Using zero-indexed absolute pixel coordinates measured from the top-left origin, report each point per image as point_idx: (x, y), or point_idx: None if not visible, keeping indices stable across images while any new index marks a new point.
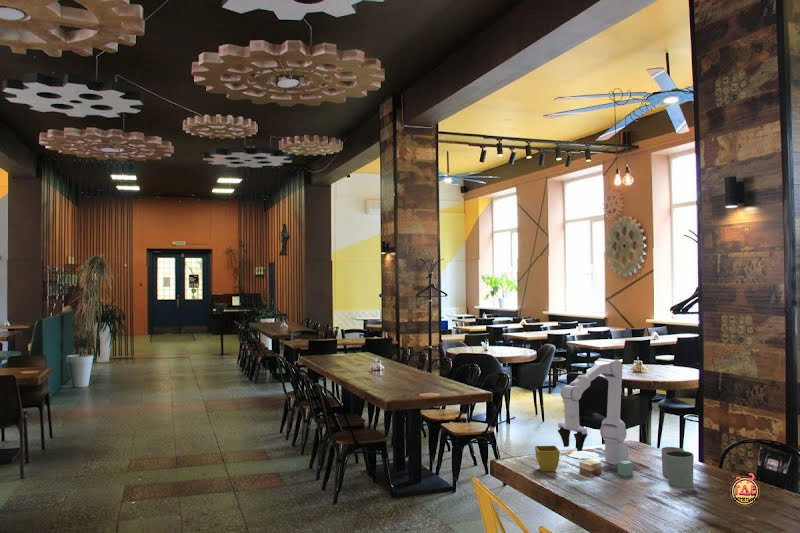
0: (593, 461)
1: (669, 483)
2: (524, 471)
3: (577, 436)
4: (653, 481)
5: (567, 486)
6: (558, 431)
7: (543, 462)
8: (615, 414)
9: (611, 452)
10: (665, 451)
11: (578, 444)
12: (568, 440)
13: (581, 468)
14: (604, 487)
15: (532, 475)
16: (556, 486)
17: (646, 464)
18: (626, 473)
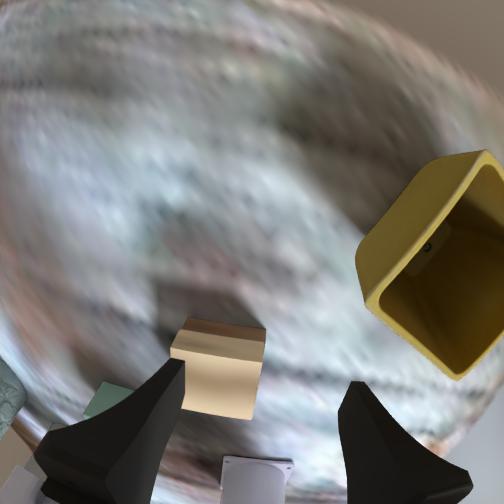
0: (209, 403)
1: (2, 366)
2: (473, 122)
3: (52, 435)
4: (39, 377)
5: (132, 74)
6: (458, 474)
7: (424, 174)
8: None
9: (240, 493)
10: (36, 475)
11: (134, 393)
12: (347, 451)
13: (249, 338)
14: (37, 210)
15: (405, 83)
16: (170, 29)
17: (176, 483)
18: (99, 391)
